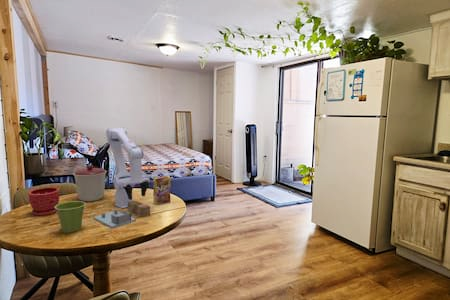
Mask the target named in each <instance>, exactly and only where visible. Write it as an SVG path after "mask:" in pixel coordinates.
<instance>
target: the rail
mask: <svg viewBox="0 0 450 300" xmlns="http://www.w3.org/2000/svg"><path fill="white" fill-rule="evenodd" d="M127 212H130V213H131V214H134V215H136V216H139V217H141V218H145V217H148V216H149V217H150V216H151V206H150V205H148V204H145V203H143V202H140V201H137V200H132V201H131V202H128V207H127Z"/></svg>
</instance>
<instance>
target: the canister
mask: <svg viewBox="0 0 450 300" xmlns="http://www.w3.org/2000/svg"><path fill="white" fill-rule="evenodd" d="M107 172H108V171H107V169H106V170H105V169H104V168H101V167H94V165H93V164H87V165H86V168H82V169H77V170H76V171H75V172H73V173H72V175H73V176H74V182H75V188H76V193H77V197H78V198H79V200H80V201H82V202H86V203H87V202H95V201H100V200H101V199H103V197H104V196H105V189H106V188H105V186H106V174H107Z"/></svg>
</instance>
